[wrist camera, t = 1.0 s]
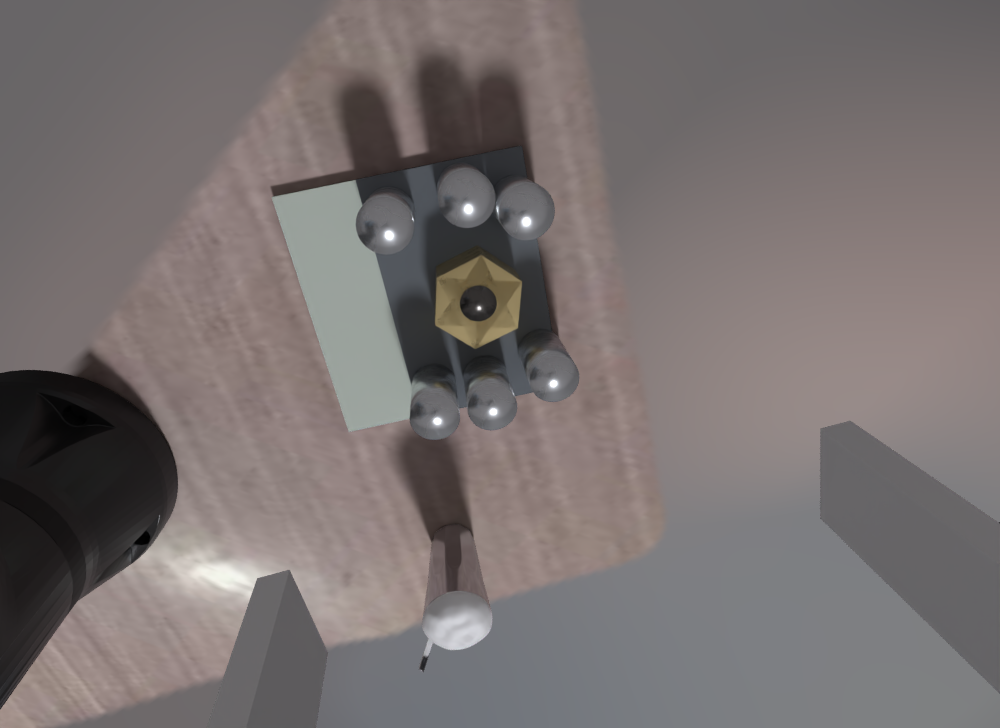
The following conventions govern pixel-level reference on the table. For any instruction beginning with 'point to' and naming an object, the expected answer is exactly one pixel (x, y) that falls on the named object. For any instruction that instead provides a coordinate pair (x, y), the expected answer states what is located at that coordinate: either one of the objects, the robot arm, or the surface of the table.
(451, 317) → the nut
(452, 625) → the milkshake
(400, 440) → the table surface
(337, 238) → the mat
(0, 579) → the robot arm
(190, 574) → the table surface
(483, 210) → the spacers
